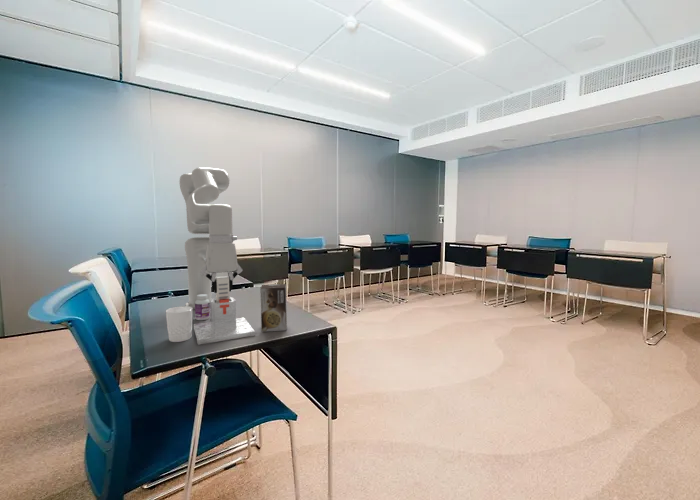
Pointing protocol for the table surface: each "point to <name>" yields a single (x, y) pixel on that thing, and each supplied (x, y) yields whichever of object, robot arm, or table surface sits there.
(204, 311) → the pill bottle
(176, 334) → the white cup
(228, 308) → the stand
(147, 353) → the table surface
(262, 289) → the coffee box
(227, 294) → the column
